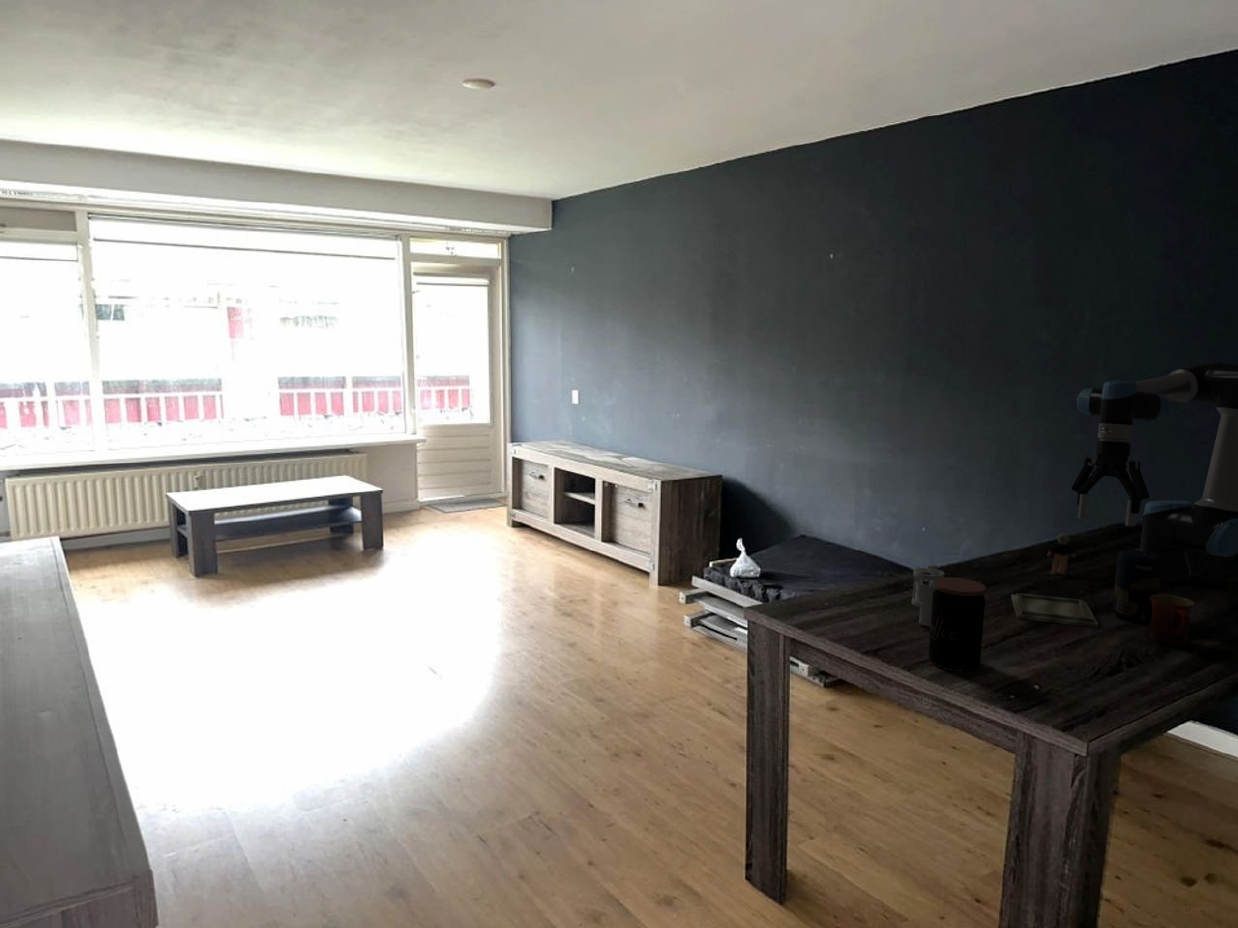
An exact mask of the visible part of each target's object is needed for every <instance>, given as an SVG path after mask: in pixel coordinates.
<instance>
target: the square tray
mask: <svg viewBox="0 0 1238 928" xmlns="http://www.w3.org/2000/svg"><path fill="white" fill-rule="evenodd" d="M1015 593H1016V594H1011V601H1012V605H1013V607H1014V611H1015V615H1016V619H1018V620H1026V621H1037V622H1043V623H1051V624H1052V623H1053V624H1062V625H1070V626H1079V627H1088V628H1094V629H1095V628H1096V629H1098V628H1099V623H1098V621H1097V620H1096V617H1095V616H1094V613H1093V612H1092V611H1091V609H1090V607H1089V606H1088V604H1087V602H1086V601H1084V600H1083V599H1076V598H1066V597H1058V596H1048V595H1039V594H1028V593H1020V592H1015Z"/></svg>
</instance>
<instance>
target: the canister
mask: <svg viewBox="0 0 1238 928" xmlns="http://www.w3.org/2000/svg"><path fill="white" fill-rule="evenodd" d="M1139 549H1140V548H1139ZM1139 549H1138V548H1135V549H1126V550H1121V551H1120V552H1119V553H1118V555H1117V563H1116V572H1115V581H1114V582H1115V583H1114V584H1115V585H1114V593H1113V594H1114V595H1113V602H1112V612H1113V613H1114V614H1115V615H1116V616H1117V617H1120V618H1122V619H1125V620H1129V621H1133V622H1151V618H1152V604H1151V599H1150V596H1152V595H1157V594H1160V587H1161V583H1160V582H1161V581H1160V575H1161V566H1162V559H1161V557H1160V556H1158V555H1156V554H1154V553H1150V552H1146V551H1142V550H1139Z"/></svg>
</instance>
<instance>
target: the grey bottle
mask: <svg viewBox="0 0 1238 928" xmlns="http://www.w3.org/2000/svg"><path fill="white" fill-rule="evenodd" d="M924 573H925V574H924ZM926 573H928V574H926ZM939 578H945V572H944V571H943V570H940V569H938V565H937V564H930V565H928V567H917V568H914V569H913V586H912V587H913V588H912V597H911V604H912V605H913V606H915V607H917V608H919V619H918V620H919V621H918V624H919V623H921V624H923V625H927V626H930V624H931V609H932V595H933V591H934V590H935V588H934V586H933V582H934V580H936V579H939ZM923 582H928V584H924V583H923Z"/></svg>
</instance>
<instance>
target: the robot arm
mask: <svg viewBox="0 0 1238 928" xmlns="http://www.w3.org/2000/svg"><path fill="white" fill-rule="evenodd" d="M1102 387H1103V388H1097V387H1092V388H1091V387H1088V388H1084V389H1082V390H1081V391H1080V393H1078V395H1077V399H1076V407H1077V409H1078V411H1079V412H1080V413H1082V414H1084V415H1089V416H1092V417H1095V416H1096V417H1099V421H1098V423H1099V424H1098V432H1097V438H1098V439H1099V440H1098V441H1097V442H1096V448H1095V449H1096V451H1095V453H1096V458H1095V457H1085V459H1084V464H1083V465H1082V466H1083V467H1082V468H1081V470H1080V472H1079V474H1078V475H1077V477H1076V479H1075V480H1074V482H1073V484H1072V485H1071V491H1074V492H1075V493H1077V501H1076V505H1077V506H1078V511H1077V519H1083V520H1086V519H1088V518H1089V508H1090V507H1089V506H1090V496H1091V494H1089V491H1091V489H1092V488H1093V487H1094V486H1095V485H1096V484H1097V483H1098V482H1099V481H1100V480H1101V479H1102V478H1103V477H1112V478H1116V479H1117V480H1119V482H1120V483H1121V485H1122V487H1123V489H1124V490H1125V492H1126V493H1127V495H1128V496H1129V499H1128V500H1127V503H1126V512H1125V513H1126V514H1125V521H1124V526H1125V527H1126V526H1127V527H1136V525H1137V514H1139V513H1140V512H1141V511H1140V510H1141V502H1142V501H1143V500H1148V499H1150V495H1149V492H1148V489H1147V486H1146V483H1145V481H1144V477H1143V475H1142V472H1141V462H1140V461H1138V460H1130V461H1129V459H1128V458H1129V457H1130V455H1131V454H1130V453H1131V447H1132V446H1131V443H1130V442H1131V440H1132V437H1133V427H1134V426H1133V425H1134V421H1144V422H1149V423H1152V422H1160V421H1162V420H1163V419H1166V417H1167V416H1168V415H1169V412H1170V410H1171V402H1177V403H1186V402H1199V403H1201V402H1202V403H1212V404H1216V407H1215V409H1216V411H1217V412H1218V413H1219V414H1220V420H1219V424H1218V428H1217V432H1216V436H1215V442H1214V446H1213V450H1212V455H1211V458H1210V459H1211V460H1210V463H1209V467H1208V471H1207V476H1206V480H1205V485H1204V490H1203V494H1202V498H1201V499H1199V500H1196V501H1195V502H1194V503H1193V502H1191V501H1188V500H1176V499H1175V500H1171V499H1170V500H1169V499H1167V500H1164V499H1163V500H1160V499H1159V500H1150V501H1148V502H1146V503H1145V506H1144V511H1143V513H1142V516H1143V517H1142V526H1141V527H1142V529H1141V534H1140V535H1141V538H1140V546H1139V550H1142V551H1146V552H1150V553H1154V554H1156V555H1158V556H1160V557H1161V559H1162V566H1161V575H1160V582H1162V583H1173V584H1174V583H1176V584H1180V583H1181V584H1183V583H1188V582H1190V581H1191V579H1192V571H1191V567H1190V564H1189V559H1188V557H1187V556H1188V555H1187V552H1188V551H1187V550H1188V549H1189V550H1194V551H1197V552H1201V553H1206V554H1209V555H1213V556H1219V557H1225V558H1227V557H1233V556H1236V555H1237V554H1238V362H1209V363H1204V364H1197V365H1193V366H1188V367H1183V368H1180V369H1175V370H1173V371H1171V372H1170V373H1169V374H1167V375H1163V376H1158V377H1153V378H1149V379H1144V380H1138V381H1127V380H1110V381H1108V380H1107V381H1106V382H1104V383H1103V386H1102ZM1129 441H1130V442H1129ZM1095 467H1096V468H1095ZM1127 469H1128V471H1127ZM1128 472H1129V473H1128Z"/></svg>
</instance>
